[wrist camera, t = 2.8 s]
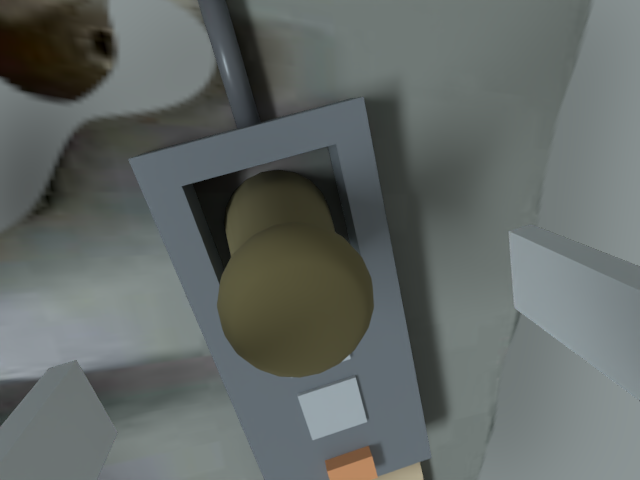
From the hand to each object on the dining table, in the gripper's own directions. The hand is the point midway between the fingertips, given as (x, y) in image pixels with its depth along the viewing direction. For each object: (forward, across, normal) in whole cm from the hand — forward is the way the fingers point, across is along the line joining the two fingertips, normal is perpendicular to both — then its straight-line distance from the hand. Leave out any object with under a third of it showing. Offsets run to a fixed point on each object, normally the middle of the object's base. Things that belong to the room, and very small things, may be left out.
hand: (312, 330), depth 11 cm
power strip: (+11, 0, -3) cm, 11 cm away
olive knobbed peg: (+11, 0, 0) cm, 11 cm away
